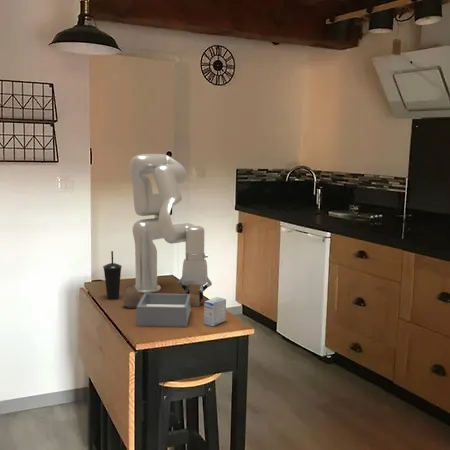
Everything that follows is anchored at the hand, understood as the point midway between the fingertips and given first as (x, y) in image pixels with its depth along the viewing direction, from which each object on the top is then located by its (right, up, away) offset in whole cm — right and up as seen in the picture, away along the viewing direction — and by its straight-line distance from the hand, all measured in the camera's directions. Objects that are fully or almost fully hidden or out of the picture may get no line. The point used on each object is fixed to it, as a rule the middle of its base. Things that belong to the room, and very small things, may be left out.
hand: (194, 300), depth 229 cm
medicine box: (+9, -6, -22) cm, 24 cm away
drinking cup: (-35, 0, +9) cm, 36 cm away
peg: (0, -2, 0) cm, 2 cm away
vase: (-25, -2, -3) cm, 25 cm away
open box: (-10, -4, -17) cm, 21 cm away
